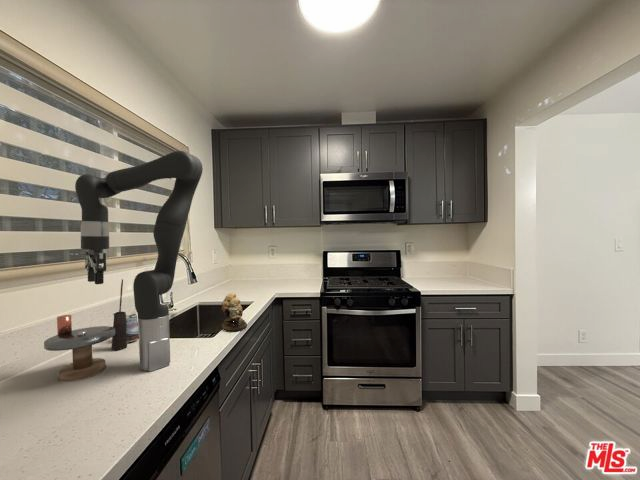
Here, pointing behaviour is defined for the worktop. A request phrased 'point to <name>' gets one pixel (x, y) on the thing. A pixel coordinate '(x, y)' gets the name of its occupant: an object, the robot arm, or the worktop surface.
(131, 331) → the beverage can
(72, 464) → the worktop surface
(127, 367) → the worktop surface
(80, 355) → the wheel stand
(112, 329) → the grey disc with knob
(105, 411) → the worktop surface
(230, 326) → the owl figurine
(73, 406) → the worktop surface
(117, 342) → the butter churn
